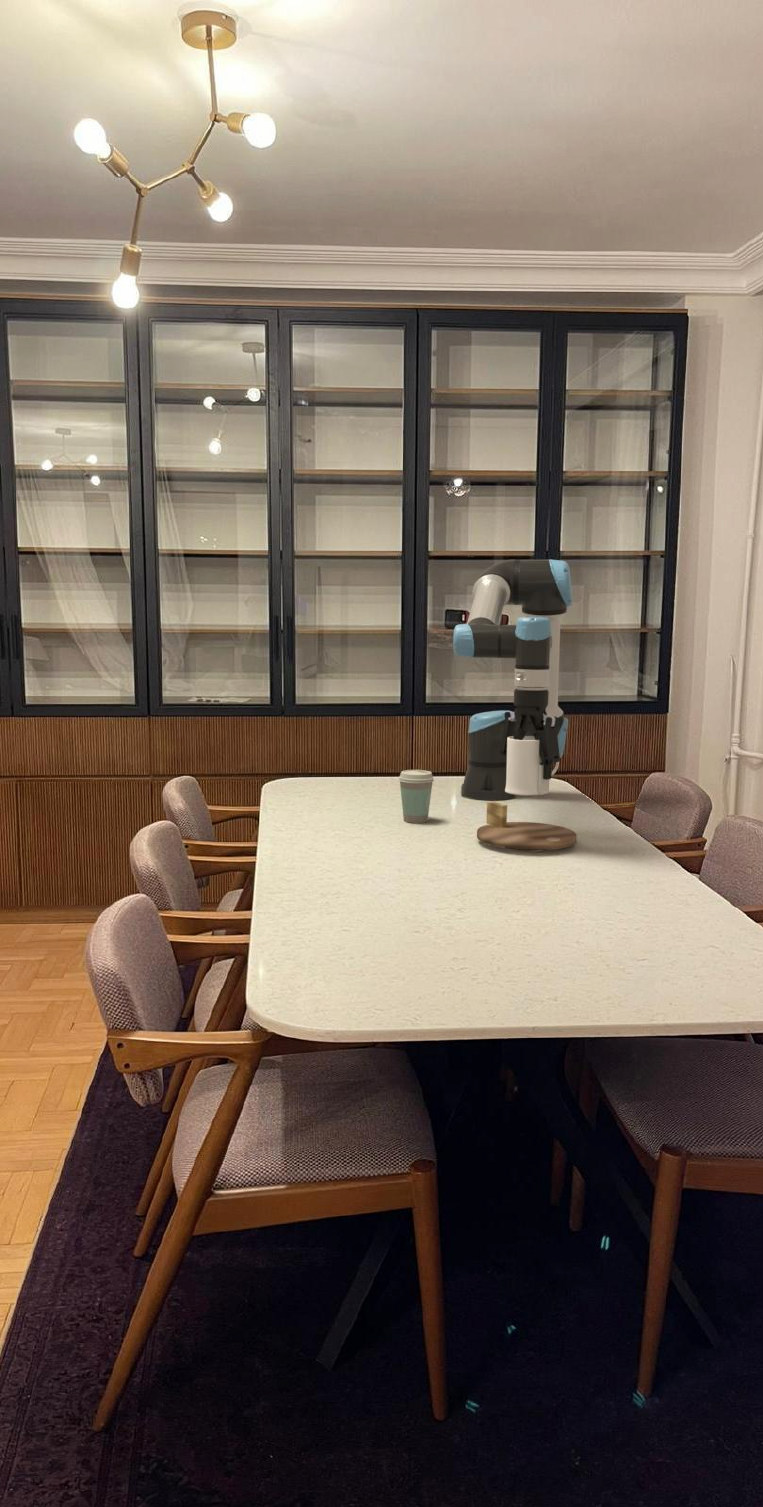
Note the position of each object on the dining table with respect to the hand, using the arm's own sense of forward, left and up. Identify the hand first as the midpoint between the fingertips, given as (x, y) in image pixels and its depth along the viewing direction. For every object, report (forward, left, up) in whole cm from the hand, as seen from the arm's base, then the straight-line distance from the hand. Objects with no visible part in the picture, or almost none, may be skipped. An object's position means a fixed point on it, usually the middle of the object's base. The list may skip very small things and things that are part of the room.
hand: (527, 790), depth 230 cm
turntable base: (0, 0, -12) cm, 12 cm away
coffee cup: (+5, -33, -12) cm, 35 cm away
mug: (0, +1, 0) cm, 1 cm away
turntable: (0, -1, -11) cm, 11 cm away
